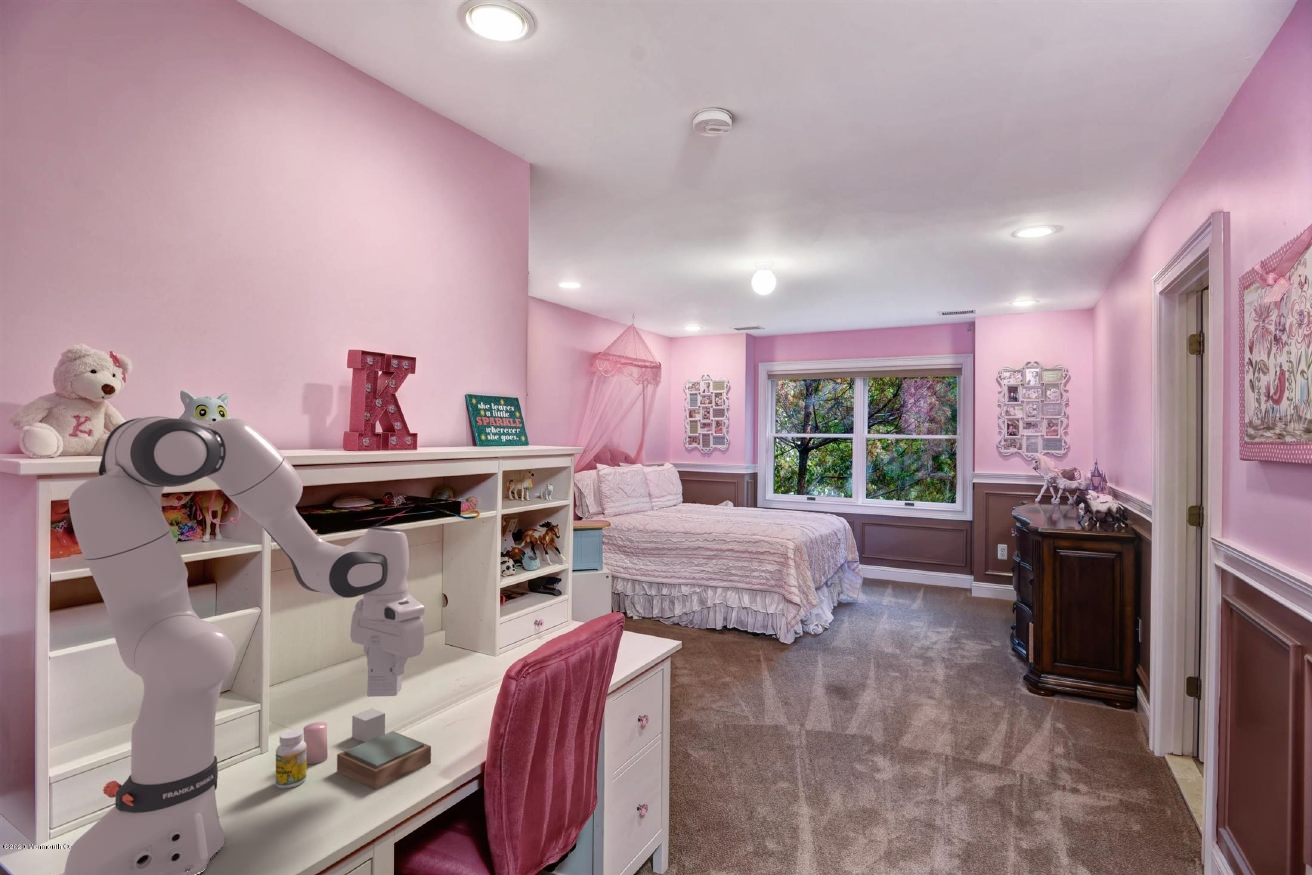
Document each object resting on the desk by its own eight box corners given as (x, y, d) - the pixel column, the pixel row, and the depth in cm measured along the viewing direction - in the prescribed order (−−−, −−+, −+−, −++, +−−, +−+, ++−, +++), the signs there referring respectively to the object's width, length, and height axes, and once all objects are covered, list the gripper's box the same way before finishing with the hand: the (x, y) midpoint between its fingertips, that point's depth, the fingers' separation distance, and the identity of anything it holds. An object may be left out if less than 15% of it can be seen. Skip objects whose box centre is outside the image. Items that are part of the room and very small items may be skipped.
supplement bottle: (312, 776, 133) (312, 729, 133) (292, 790, 127) (293, 741, 127) (289, 774, 134) (289, 726, 134) (268, 787, 128) (269, 738, 129)
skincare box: (366, 697, 134) (367, 638, 135) (372, 689, 139) (373, 632, 139) (397, 696, 135) (398, 637, 135) (403, 688, 140) (403, 631, 140)
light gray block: (365, 742, 148) (365, 720, 148) (352, 737, 151) (352, 715, 151) (384, 734, 152) (385, 713, 152) (371, 729, 155) (372, 708, 155)
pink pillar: (313, 765, 137) (313, 732, 137) (299, 761, 139) (298, 728, 139) (332, 756, 141) (331, 723, 141) (318, 752, 143) (317, 720, 143)
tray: (375, 789, 128) (375, 768, 128) (336, 771, 135) (337, 751, 135) (430, 762, 139) (430, 743, 139) (392, 746, 146) (392, 728, 146)
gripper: (342, 600, 140) (342, 665, 140) (403, 614, 129) (402, 685, 129) (369, 594, 145) (369, 657, 145) (430, 607, 134) (429, 675, 134)
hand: (385, 670), depth 137 cm, fingers closed on skincare box, 7 cm apart
